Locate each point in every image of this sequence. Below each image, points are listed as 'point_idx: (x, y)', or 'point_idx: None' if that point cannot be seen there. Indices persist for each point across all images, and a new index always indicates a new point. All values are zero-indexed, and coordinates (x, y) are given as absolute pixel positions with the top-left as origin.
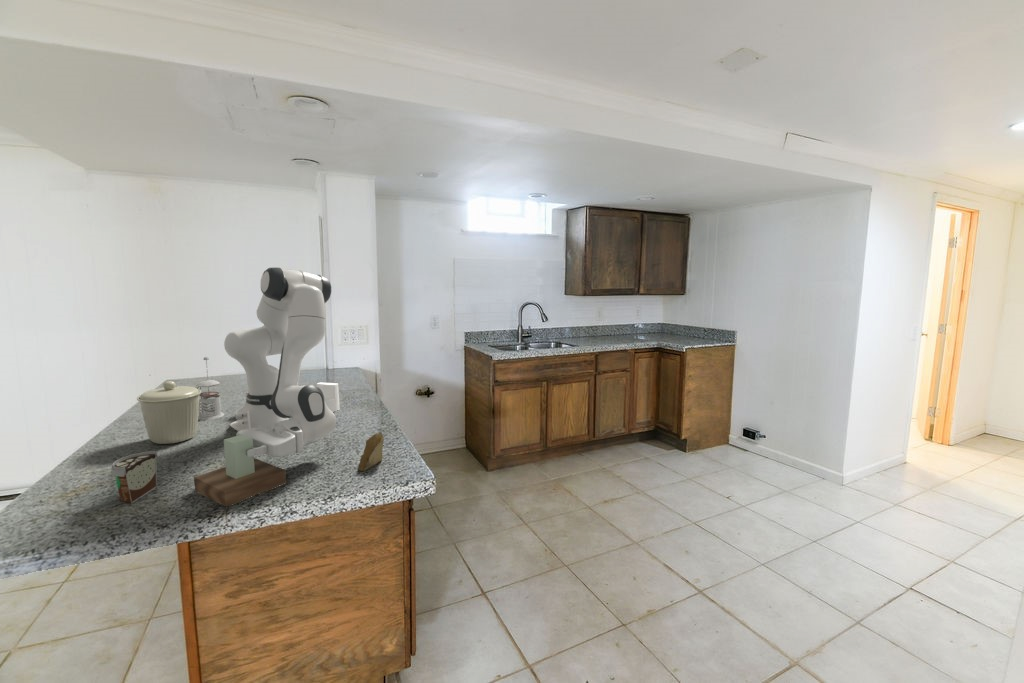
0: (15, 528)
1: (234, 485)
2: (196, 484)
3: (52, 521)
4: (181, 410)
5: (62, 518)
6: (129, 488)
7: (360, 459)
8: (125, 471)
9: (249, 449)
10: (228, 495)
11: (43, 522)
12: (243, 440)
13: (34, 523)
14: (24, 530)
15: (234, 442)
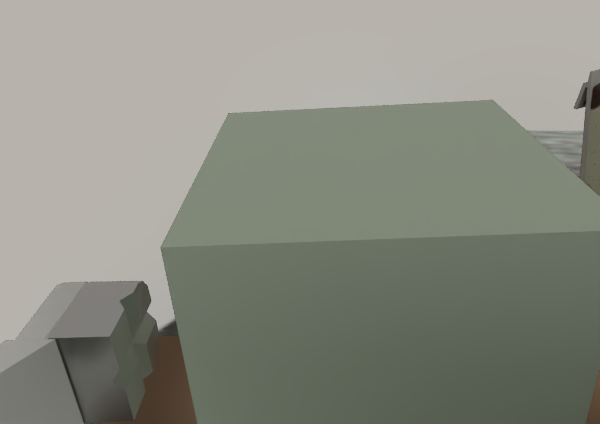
0: (572, 134)
1: (167, 404)
2: None
3: (565, 158)
4: None
5: (572, 166)
6: (586, 180)
7: None
8: (589, 91)
9: (87, 296)
10: None
11: (573, 152)
12: (203, 163)
13: (580, 146)
14: (544, 139)
15: (246, 118)
